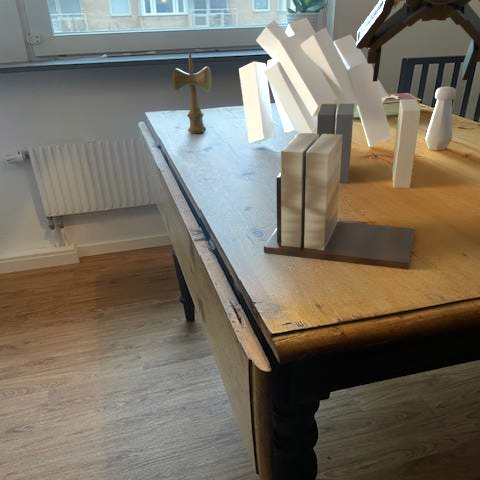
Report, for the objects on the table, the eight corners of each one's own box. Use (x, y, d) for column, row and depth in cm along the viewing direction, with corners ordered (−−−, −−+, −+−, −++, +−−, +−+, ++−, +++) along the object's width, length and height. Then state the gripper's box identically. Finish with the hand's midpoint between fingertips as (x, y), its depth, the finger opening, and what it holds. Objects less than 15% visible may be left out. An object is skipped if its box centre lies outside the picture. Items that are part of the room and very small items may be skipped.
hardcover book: (338, 111, 155) (339, 96, 152) (405, 106, 155) (406, 91, 153) (348, 119, 145) (349, 104, 142) (419, 114, 145) (421, 98, 143)
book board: (414, 234, 79) (429, 135, 70) (407, 269, 69) (424, 160, 61) (285, 222, 85) (285, 130, 77) (263, 252, 76) (260, 152, 68)
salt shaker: (453, 146, 117) (464, 85, 110) (446, 152, 113) (457, 90, 106) (427, 143, 120) (436, 84, 113) (420, 149, 116) (429, 89, 109)
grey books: (349, 168, 108) (354, 103, 100) (348, 183, 100) (353, 114, 92) (319, 167, 109) (321, 103, 102) (315, 183, 101) (317, 114, 94)
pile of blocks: (387, 148, 137) (353, 16, 132) (410, 129, 108) (368, -42, 103) (266, 189, 143) (229, 64, 138) (256, 181, 114) (209, 22, 109)
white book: (406, 171, 104) (416, 99, 96) (409, 188, 96) (420, 110, 88) (391, 171, 104) (400, 99, 97) (393, 187, 96) (402, 110, 89)
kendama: (211, 135, 138) (205, 53, 127) (177, 135, 140) (168, 54, 129) (216, 129, 143) (210, 50, 132) (183, 129, 144) (175, 51, 133)
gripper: (339, -15, 61) (338, 95, 82) (565, -27, 56) (503, 93, 77) (344, -66, 63) (341, 54, 83) (565, -82, 58) (504, 50, 78)
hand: (419, 73), depth 80 cm, fingers open, 13 cm apart
